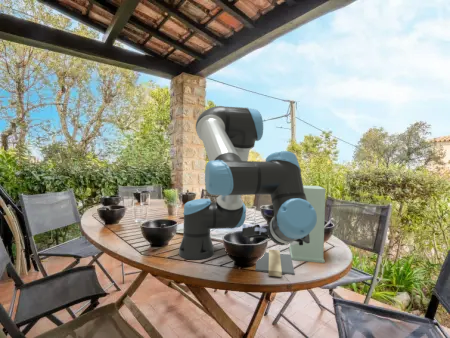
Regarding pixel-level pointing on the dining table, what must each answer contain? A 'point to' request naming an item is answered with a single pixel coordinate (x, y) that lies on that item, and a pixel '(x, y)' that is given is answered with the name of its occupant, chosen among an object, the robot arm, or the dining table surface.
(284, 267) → the mat
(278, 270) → the block
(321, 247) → the stand
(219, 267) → the dining table surface
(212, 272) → the dining table surface
